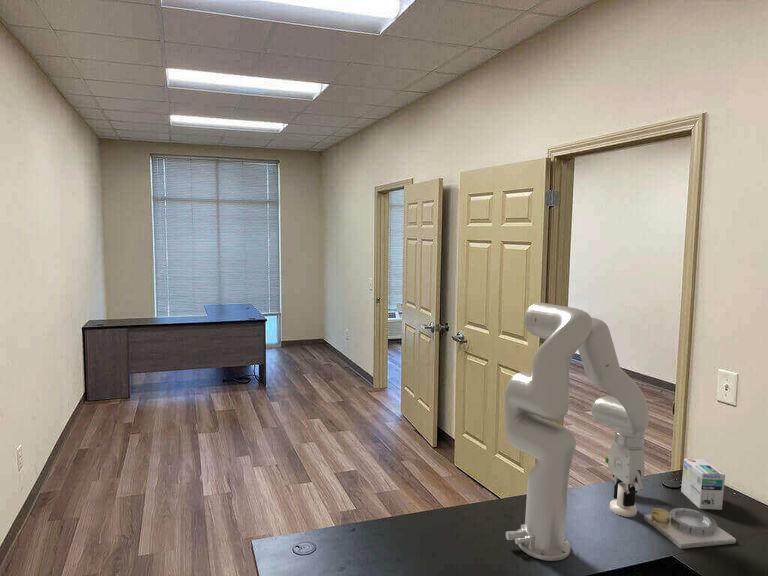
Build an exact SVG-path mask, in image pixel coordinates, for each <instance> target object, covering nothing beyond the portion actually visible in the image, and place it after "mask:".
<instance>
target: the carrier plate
mask: <svg viewBox="0 0 768 576" xmlns="http://www.w3.org/2000/svg"><path fill="white" fill-rule="evenodd" d="M643 520H644V521H645V522H647V523H648V524H649V525H650V526H652V527H653V528H654V529H655V530H656V531H658V532H659V533H660V534H661V535H663V536H664V537H665V538H667V539H668V540H669V541H670V542H672V543H673V544H674V545H675V546H676V547H678V548H679V549H690V548H700V547H711V546H712V547H713V546H721V545H730V544H731V545H732V544H736V540H737V539H736V538H735V537H734V536H733V535H731V534H730V533H728V532H727V531H725V530H724V529H722V528H721V527H719V526H718V523H717V521H716V520H715V519H714V518H713V517H711V516H710V515H708V514H707V513H705V512H701V511H699V510H698V509H697V510H696V509H691V508H687V507H676V508H673V509H671V510H670V511H668V510H667V509H665V508H660V507H653V508H652V509H651V513H650V514H644V516H643Z"/></svg>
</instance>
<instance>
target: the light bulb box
mask: <svg viewBox="0 0 768 576" xmlns="http://www.w3.org/2000/svg"><path fill="white" fill-rule="evenodd" d="M682 469H683V470H682V480H681V488H680V493H682V494H683V495H684V496H685V497H686V498H687V499H689V500H690V502H691V503H692V504H694V505H695V507H697V508H698V509H700V510H720V511H721V510H723V503H724V502H723V501H724V493H725V482H726V481H725V480H726V474H725V473H724V472H722V471H721V470H720V469H718V468H717V467H715V466H714V465H713V464H712V463H711V462H708V460H706V459H702V458H700V459H699V458H684V459H683V467H682Z"/></svg>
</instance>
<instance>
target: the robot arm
mask: <svg viewBox="0 0 768 576" xmlns="http://www.w3.org/2000/svg"><path fill="white" fill-rule="evenodd" d="M523 324H524V327H525V329H526V331H527V332H528V333H529V334H531V335H532V336H535V337H537V338H540V339H544V342H543V343H542V344H541V345H540V346H539V347H538V348H537V350H535V353H534V355H533V357H532V361H531V362H532V366H531V372H529V371H527V372H526V371H519V372H516V373H515V374H513V375H512V376H511V378H510V379H509V380H508V382H507V385H506V388H505V392H504V411H505V412H504V413H505V415H504V420H505V424H504V425H505V435H506V438H507V439H506V440H507V441H508V443H509V444H510V445H511V446H512V447H513V448H515V449H517V450H519V451H521V452H523V453H526V454H528V455H530V456H532V457H533V458H535V459H536V463H535V465H533V467H531V469H530V470H529V472H528V475H527V483H526V485H527V487H526V501H525V504H526V505H525V517H524V524H520V528H518V529H517V530H509V531H508V530H507V531H505V538H506V540H507V541H511V540H514V543H515V545H518V547H519V548H520V550H521V551H523V552H524V553H526V554H527V555H528V556H531V557H533V558H535V559H539V560H542V561H547V562H549V561H550V562H555V561H561V560H564V559H566V558H567V557H569V556H570V554H571V545H570V544H571V543H570V542H569V541H568V540H567V539H566V538H565V537H566V536H565V535H566V533H565V532H566V521H567V519H566V518H567V507H568V494H569V491H568V490H569V482H570V481H569V480H570V471H571V466H572V463H573V458H574V455H575V451H576V446H577V444H576V443H577V442H576V438H575V436H574V434H573V433H572V431H570V429H567V428H566V427H565V426H564V425H562V424H559V423H557V421H562V420H563V419H564V418H566V416H567V414H568V412H569V408H570V369H571V368H570V366H571V361H572V359H573V357H574V356H575V354H576V352H577V351H578V353H579V356H580V360H581V363H582V366H583V369H584V373H585V375H586V377H587V379H588V380H589V381H591V382H592V383H593V384H594V385H595V386H597V387H598V388H600V389H602V390H603V391H604V392H606V393H608V394H609V395H610V396H609V395H608V396H607V395H606V396H605V395H604V396H600V397H599V398H597V399H596V400H595V401H594V402H593V403H592V406H591V409H590V410H591V415H592V417H593V418H594V420H595V421H597V422H599V423H600V424H603V425H605V426H608V427H611V428H614V438H613V439H612V441H611V445H610V449H609V454H608V456H609V461H608V463H607V470H608V471H609V473H610V474H612V477H613V481H612V482H613V484H614V489H613V498H614V500H617V493H618V483H621V482H624V483H625V484H626V492H624V497H623V506H625V507H627V506H634V505H635V501H636V494H637V493H638V492H639V491H644V486H643V482H644V477H645V476H644V475H645V452H644V451H645V450H644V443H645V433H646V430H647V429H648V426H649V422H650V413H649V409H648V403H647V402H648V401H647V400H646V397H645V394H644V393H643V391H642V388H640V387H639V386H638V384H637V383H636V382H635V381H634V379H632V378H631V376H629V374H627V373H626V372H625V370H624V369H622V368H621V366H620V363H619V359H618V356H617V353H616V348H615V344H614V342H613V338H612V334H611V331H610V327H609V326H608V325H607V323H606V322H605V321H603V320H602V319H599V318H597V317H591V315H590V314H589V313H588V312H586V311H584V310H582V309H579V308H576V307H570V306H564V305H558V304H552V303H546V302H535V303H533V304H530V306H529V307H528V308H527V309H526V310H525V312H524V316H523ZM554 421H555V422H554ZM630 485H631V486H632V487H631V488H630Z"/></svg>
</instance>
